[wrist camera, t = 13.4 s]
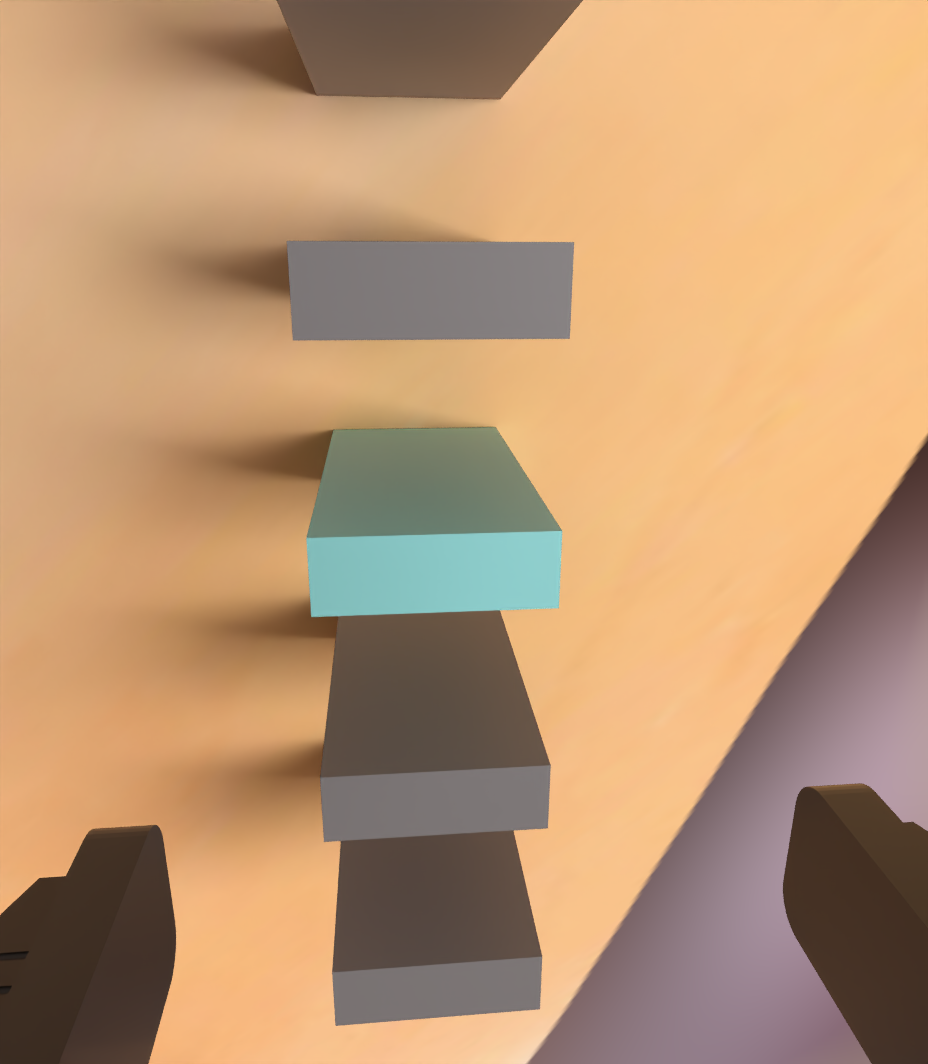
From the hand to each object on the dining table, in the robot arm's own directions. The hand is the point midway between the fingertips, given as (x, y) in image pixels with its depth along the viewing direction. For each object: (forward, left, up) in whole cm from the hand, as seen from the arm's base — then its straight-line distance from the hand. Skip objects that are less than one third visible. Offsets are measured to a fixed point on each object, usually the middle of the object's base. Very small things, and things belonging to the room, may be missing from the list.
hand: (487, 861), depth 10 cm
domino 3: (0, 0, -22) cm, 22 cm away
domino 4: (-4, -5, -22) cm, 23 cm away
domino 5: (-8, -10, -22) cm, 26 cm away
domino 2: (+4, +5, -22) cm, 23 cm away
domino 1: (+8, +10, -22) cm, 25 cm away
